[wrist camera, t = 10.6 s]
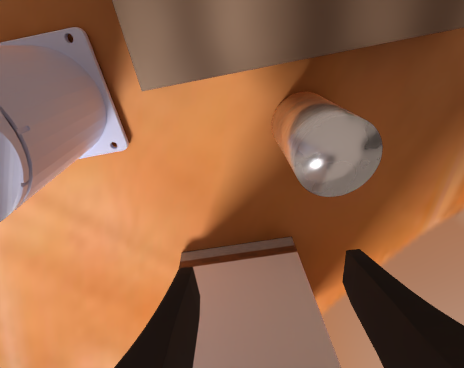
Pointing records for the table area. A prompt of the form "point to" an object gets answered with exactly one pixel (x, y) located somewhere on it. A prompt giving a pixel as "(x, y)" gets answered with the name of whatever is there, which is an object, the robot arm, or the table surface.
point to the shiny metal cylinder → (326, 144)
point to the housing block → (264, 32)
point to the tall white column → (257, 309)
